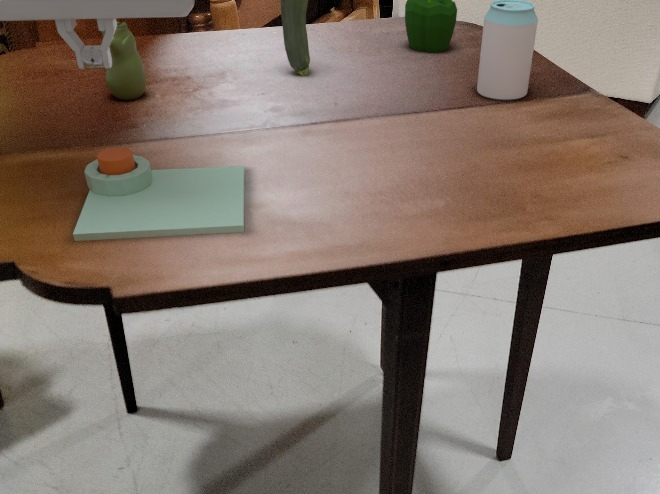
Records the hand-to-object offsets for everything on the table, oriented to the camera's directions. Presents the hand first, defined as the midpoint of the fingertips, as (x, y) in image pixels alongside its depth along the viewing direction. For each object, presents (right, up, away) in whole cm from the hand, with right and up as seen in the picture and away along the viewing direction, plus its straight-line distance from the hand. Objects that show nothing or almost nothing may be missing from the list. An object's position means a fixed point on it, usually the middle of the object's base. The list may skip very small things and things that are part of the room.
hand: (96, 67), depth 70 cm
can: (+46, +9, +33) cm, 57 cm away
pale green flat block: (+5, -12, +5) cm, 15 cm away
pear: (-7, +8, +31) cm, 33 cm away
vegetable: (+16, +14, +40) cm, 45 cm away
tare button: (0, -8, +7) cm, 11 cm away
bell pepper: (+37, +23, +51) cm, 67 cm away
